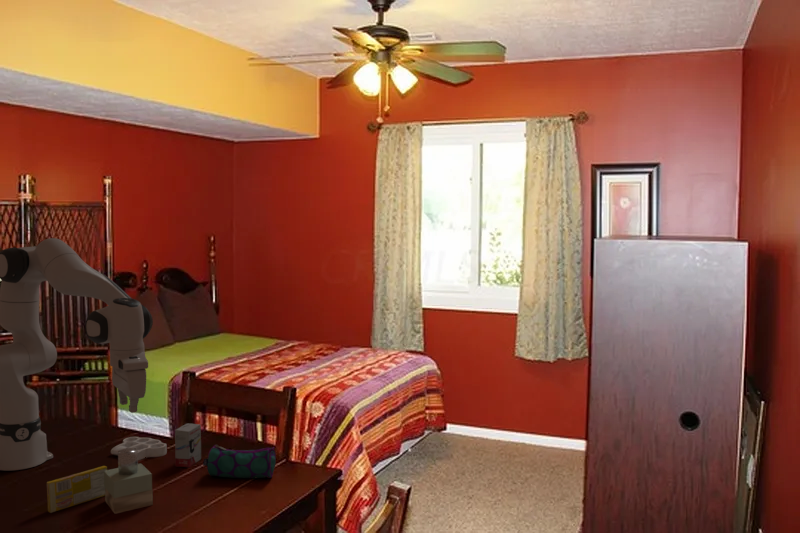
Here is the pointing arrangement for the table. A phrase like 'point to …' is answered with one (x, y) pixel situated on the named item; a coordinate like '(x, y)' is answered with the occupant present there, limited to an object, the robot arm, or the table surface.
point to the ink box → (187, 445)
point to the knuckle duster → (142, 447)
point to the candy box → (75, 489)
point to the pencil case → (240, 462)
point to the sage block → (127, 482)
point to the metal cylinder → (128, 461)
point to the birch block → (129, 501)
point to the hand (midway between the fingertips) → (128, 408)
